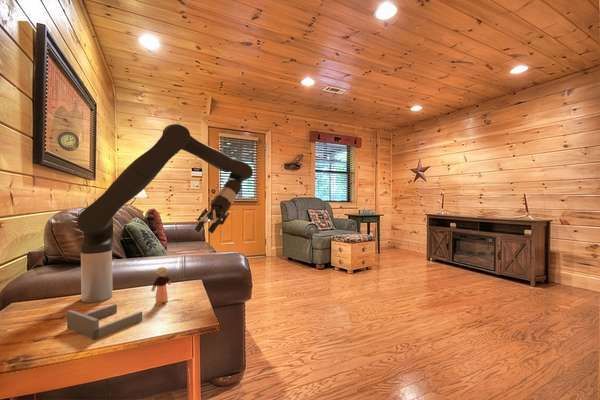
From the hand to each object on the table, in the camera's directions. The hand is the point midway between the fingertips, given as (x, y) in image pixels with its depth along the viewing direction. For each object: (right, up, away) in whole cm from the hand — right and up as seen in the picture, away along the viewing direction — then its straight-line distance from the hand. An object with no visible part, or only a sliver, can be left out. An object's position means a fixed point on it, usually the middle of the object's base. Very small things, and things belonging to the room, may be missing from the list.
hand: (203, 231), depth 113 cm
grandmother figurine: (-10, -24, -13) cm, 29 cm away
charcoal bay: (-18, -24, -29) cm, 42 cm away
